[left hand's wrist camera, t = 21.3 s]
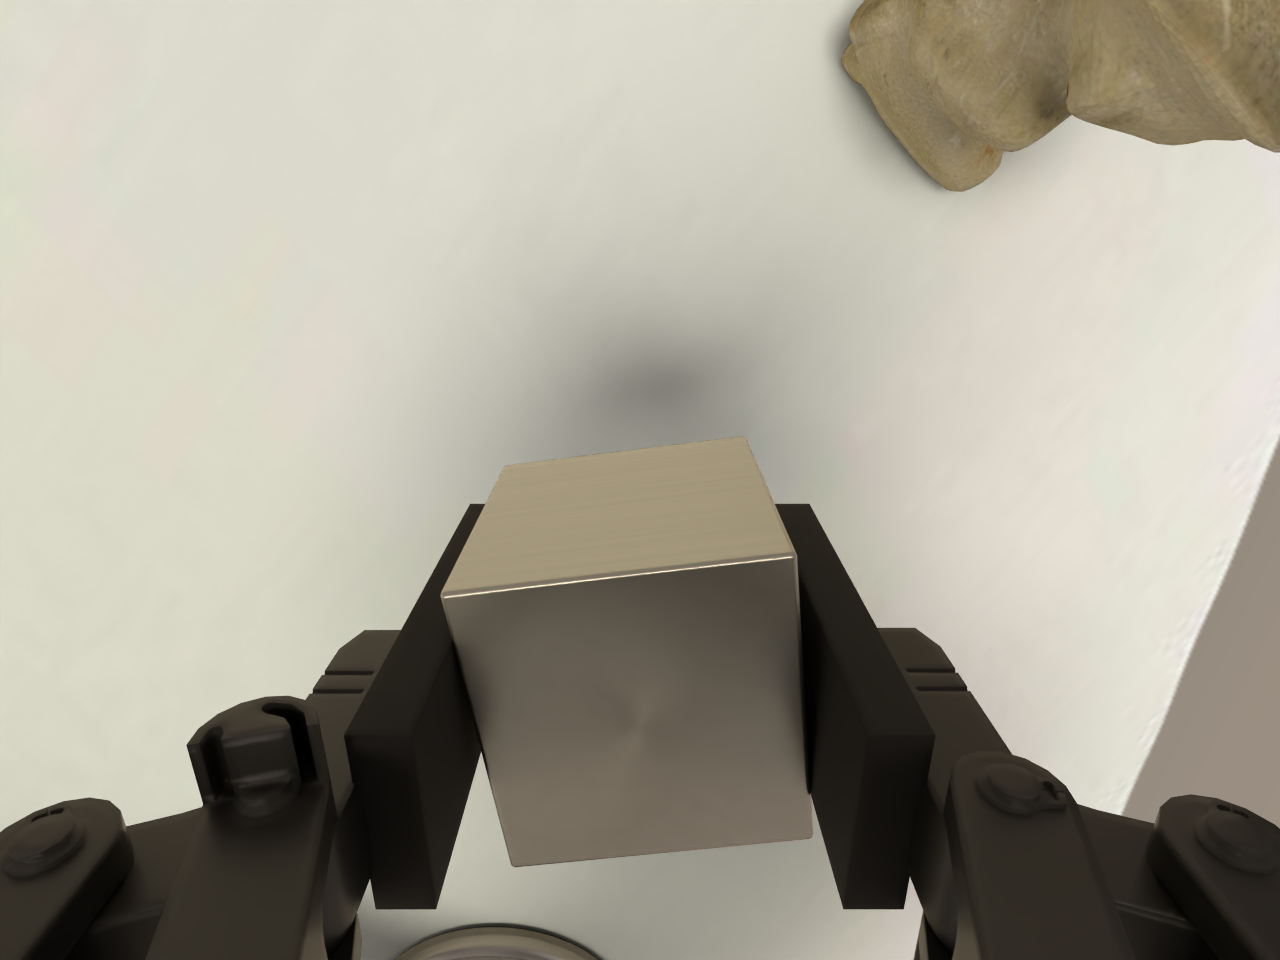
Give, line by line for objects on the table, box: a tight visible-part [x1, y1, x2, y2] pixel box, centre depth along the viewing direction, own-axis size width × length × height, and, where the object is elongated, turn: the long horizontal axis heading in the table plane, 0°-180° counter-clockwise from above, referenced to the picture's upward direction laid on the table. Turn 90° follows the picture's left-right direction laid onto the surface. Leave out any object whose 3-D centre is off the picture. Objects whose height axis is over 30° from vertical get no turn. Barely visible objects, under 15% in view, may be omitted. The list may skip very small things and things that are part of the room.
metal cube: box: [441, 436, 813, 867], centre depth 13 cm, size 5×5×5 cm
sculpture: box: [842, 0, 1280, 192], centre depth 18 cm, size 6×7×15 cm
